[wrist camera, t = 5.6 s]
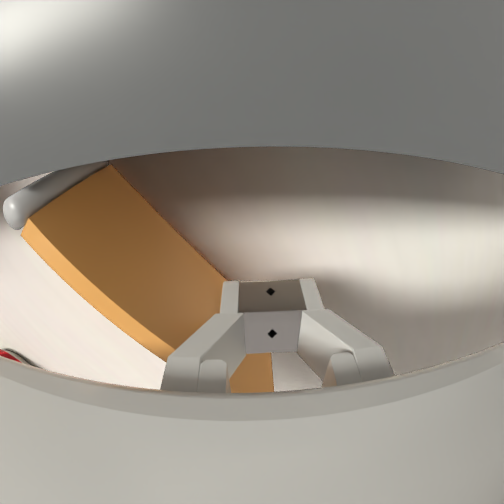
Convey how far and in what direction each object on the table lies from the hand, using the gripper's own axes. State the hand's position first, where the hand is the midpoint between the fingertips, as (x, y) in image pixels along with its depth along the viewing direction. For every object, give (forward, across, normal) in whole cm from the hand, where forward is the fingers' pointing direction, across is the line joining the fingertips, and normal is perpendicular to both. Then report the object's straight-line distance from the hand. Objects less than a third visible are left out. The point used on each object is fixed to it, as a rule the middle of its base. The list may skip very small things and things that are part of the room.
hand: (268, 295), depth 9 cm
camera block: (+3, -2, -10) cm, 10 cm away
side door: (+3, +4, 0) cm, 4 cm away
